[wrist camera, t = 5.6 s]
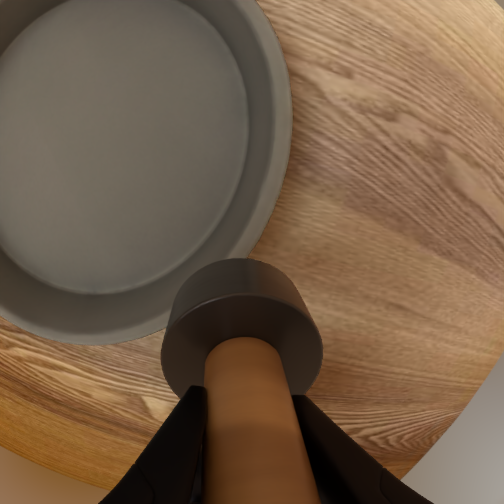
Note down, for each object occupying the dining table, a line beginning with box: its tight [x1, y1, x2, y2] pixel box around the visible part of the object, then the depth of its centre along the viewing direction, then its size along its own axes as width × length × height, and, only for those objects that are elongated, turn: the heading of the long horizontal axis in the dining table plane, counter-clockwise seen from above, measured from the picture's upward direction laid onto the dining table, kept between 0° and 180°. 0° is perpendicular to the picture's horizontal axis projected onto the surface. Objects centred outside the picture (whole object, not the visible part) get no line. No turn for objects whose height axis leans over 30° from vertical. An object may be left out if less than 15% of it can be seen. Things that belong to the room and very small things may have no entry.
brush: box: [161, 258, 323, 504], centre depth 8 cm, size 5×5×10 cm
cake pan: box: [0, 0, 293, 345], centre depth 15 cm, size 25×25×4 cm
